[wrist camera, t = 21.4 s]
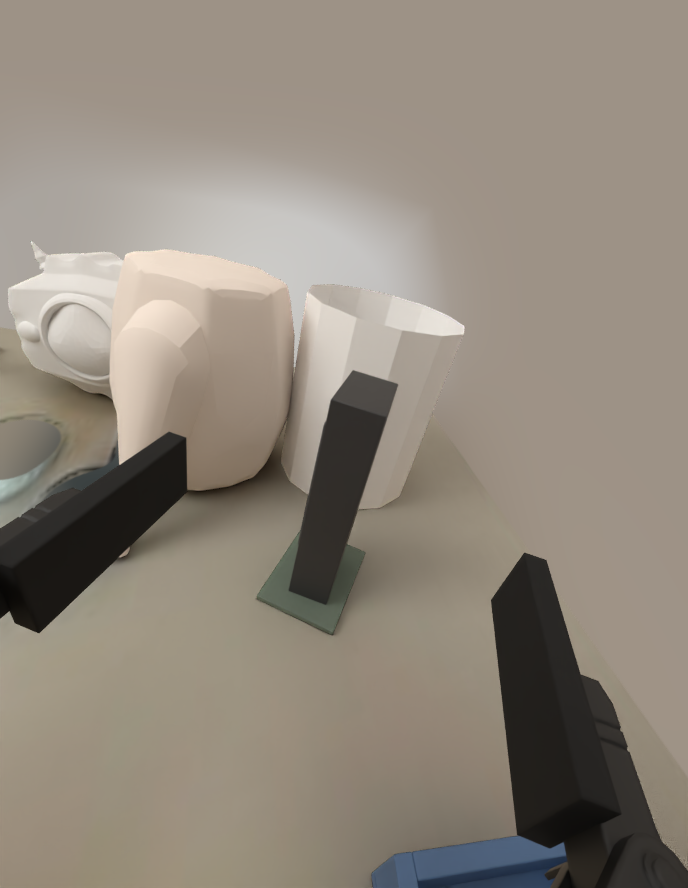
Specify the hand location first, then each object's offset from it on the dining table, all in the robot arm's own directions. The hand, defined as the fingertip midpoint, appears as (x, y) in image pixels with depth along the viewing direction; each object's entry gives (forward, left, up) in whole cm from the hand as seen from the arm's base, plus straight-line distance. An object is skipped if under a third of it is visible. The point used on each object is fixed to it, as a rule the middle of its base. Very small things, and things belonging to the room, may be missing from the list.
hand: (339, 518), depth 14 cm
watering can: (+18, -16, +4) cm, 24 cm away
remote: (+2, -9, -14) cm, 17 cm away
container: (+5, -24, -15) cm, 29 cm away
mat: (+2, -9, -15) cm, 17 cm away
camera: (+33, -21, -15) cm, 42 cm away
